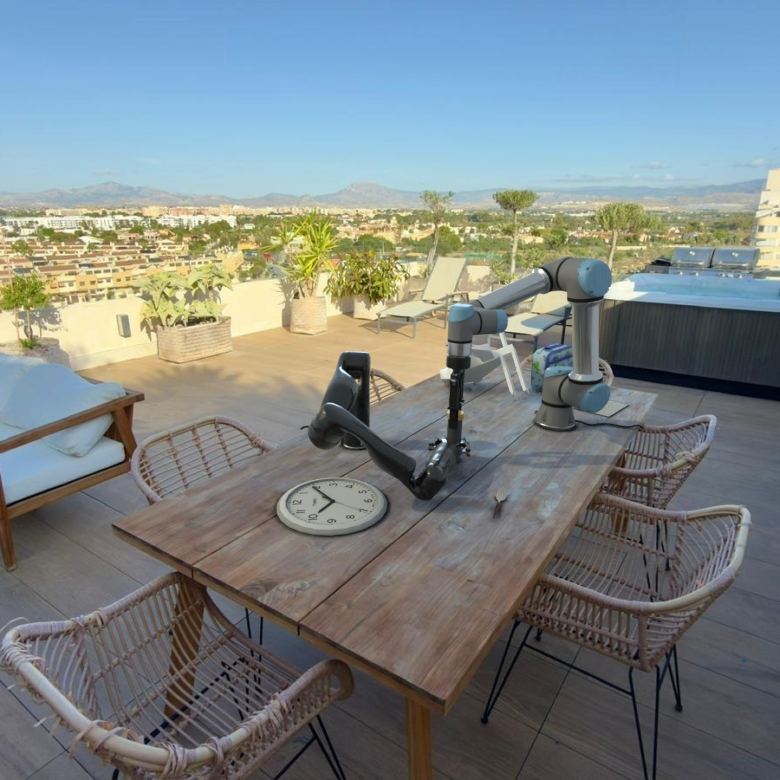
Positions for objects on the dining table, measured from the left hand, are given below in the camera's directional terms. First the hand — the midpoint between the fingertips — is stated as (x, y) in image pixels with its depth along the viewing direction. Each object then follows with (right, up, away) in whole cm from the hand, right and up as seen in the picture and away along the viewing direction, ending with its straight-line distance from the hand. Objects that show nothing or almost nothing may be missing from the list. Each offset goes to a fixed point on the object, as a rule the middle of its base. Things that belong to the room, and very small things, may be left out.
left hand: (455, 438), depth 172 cm
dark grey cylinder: (-1, -7, 0) cm, 7 cm away
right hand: (-1, +5, -4) cm, 6 cm away
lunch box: (+56, +17, +79) cm, 98 cm away
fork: (+8, -16, -29) cm, 34 cm away
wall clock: (-37, -16, -30) cm, 50 cm away
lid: (-1, +9, -5) cm, 10 cm away
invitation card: (+70, +9, +54) cm, 89 cm away
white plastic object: (+20, +15, +71) cm, 75 cm away
